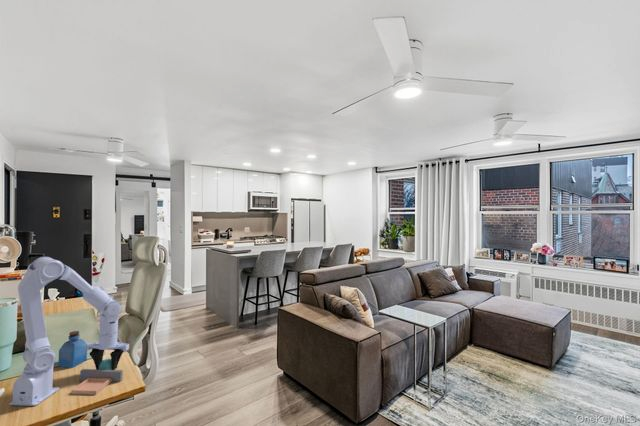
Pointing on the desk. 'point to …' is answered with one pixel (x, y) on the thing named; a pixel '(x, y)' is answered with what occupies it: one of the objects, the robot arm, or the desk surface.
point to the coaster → (91, 386)
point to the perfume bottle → (72, 351)
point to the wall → (101, 374)
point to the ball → (105, 364)
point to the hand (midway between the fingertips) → (106, 369)
